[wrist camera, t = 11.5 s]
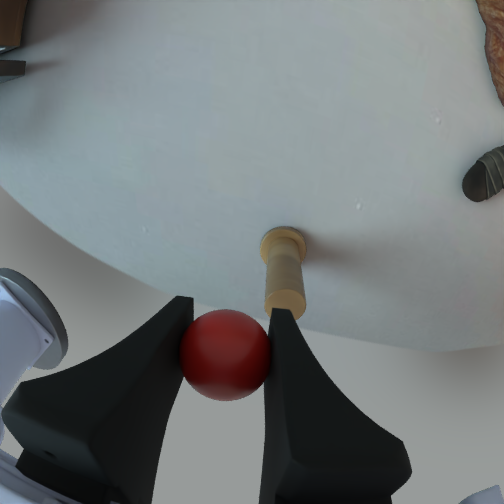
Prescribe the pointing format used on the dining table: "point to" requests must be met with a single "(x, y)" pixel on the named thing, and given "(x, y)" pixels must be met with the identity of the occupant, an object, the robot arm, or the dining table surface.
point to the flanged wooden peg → (284, 270)
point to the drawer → (11, 37)
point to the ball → (225, 355)
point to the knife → (485, 176)
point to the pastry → (494, 40)
